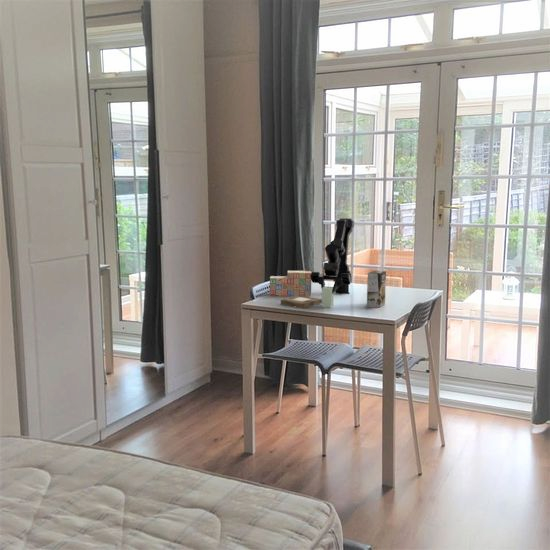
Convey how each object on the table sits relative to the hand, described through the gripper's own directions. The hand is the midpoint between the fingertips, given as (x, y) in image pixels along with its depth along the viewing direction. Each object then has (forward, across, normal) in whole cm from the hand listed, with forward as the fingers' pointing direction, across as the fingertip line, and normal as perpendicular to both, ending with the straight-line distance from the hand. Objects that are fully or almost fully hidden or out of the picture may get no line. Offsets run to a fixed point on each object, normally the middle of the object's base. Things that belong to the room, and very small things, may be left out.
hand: (327, 292), depth 286 cm
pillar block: (+4, 0, +5) cm, 7 cm away
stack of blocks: (-11, -25, +20) cm, 34 cm away
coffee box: (-2, +21, +11) cm, 24 cm away
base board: (+3, -13, +6) cm, 15 cm away
